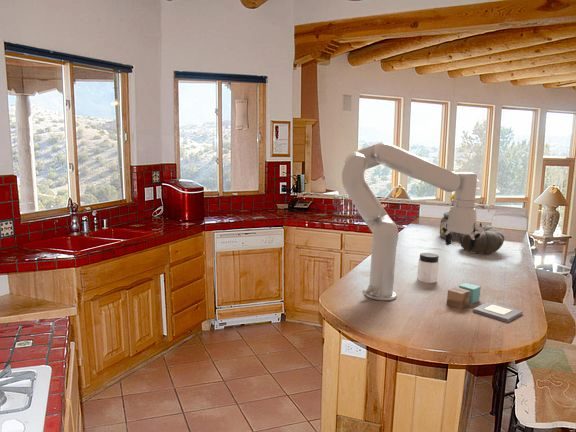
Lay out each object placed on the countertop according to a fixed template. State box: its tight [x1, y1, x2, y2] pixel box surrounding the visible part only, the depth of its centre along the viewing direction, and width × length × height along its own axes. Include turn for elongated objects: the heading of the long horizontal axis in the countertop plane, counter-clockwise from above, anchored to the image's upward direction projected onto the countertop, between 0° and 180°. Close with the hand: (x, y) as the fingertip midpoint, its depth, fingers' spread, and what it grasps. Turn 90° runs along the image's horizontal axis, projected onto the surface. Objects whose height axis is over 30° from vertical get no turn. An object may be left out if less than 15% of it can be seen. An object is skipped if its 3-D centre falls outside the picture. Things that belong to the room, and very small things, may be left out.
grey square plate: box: [472, 301, 524, 323], centre depth 180 cm, size 13×13×1 cm
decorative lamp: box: [439, 192, 460, 241], centre depth 315 cm, size 19×19×30 cm
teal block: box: [458, 282, 482, 304], centre depth 193 cm, size 6×6×6 cm
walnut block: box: [446, 286, 470, 310], centre depth 187 cm, size 6×6×6 cm
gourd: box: [458, 222, 505, 256], centre depth 278 cm, size 25×25×17 cm
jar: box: [416, 252, 440, 284], centre depth 218 cm, size 9×8×12 cm
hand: (459, 246), depth 190 cm, fingers open, 9 cm apart
